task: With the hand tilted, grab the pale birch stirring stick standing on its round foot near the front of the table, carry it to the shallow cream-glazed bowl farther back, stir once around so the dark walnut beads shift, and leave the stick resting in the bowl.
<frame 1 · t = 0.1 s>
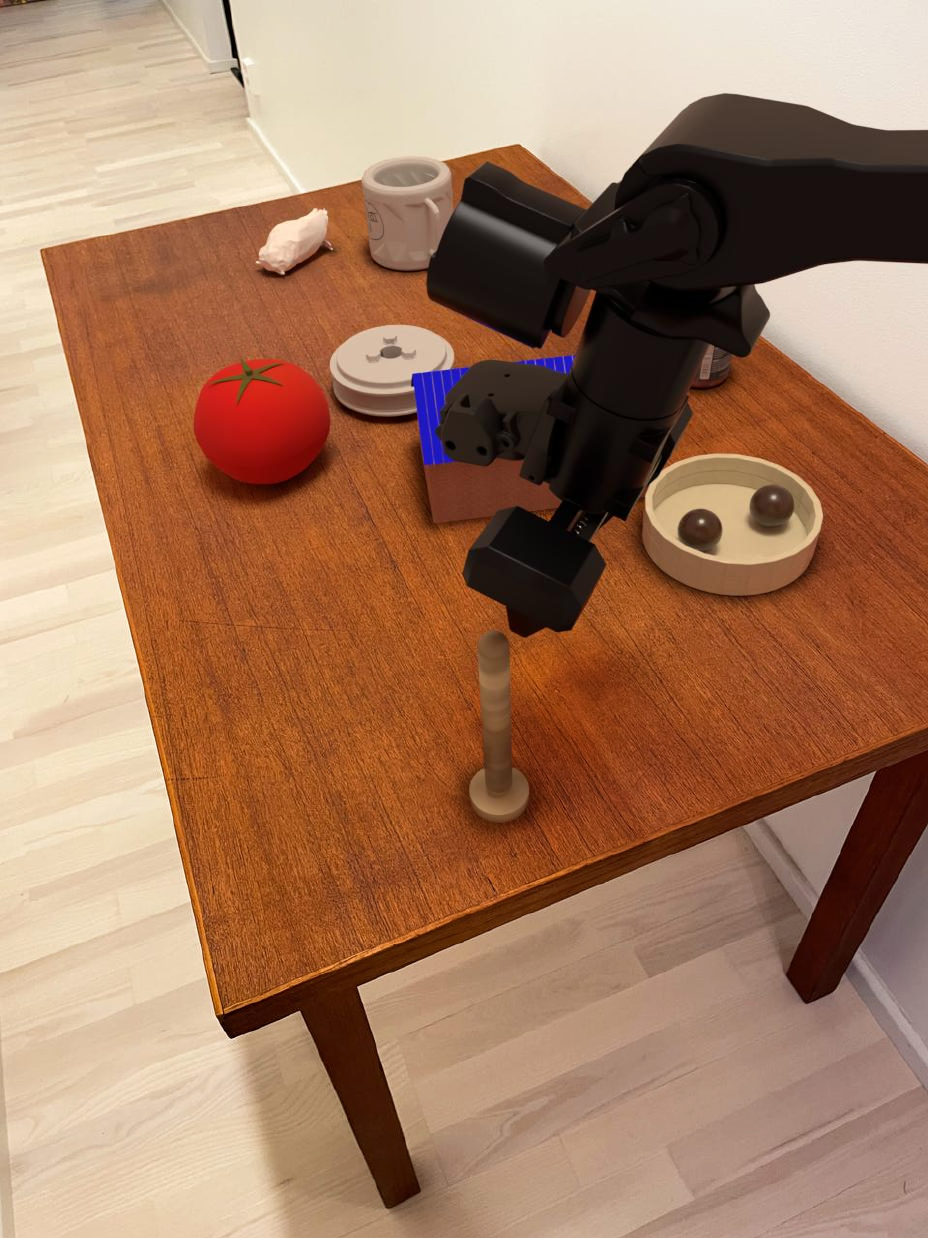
hand: (549, 582, 59), 14 cm above the table, tool pointing down, fingers open, 9 cm apart
tomato: (274, 467, 92), on the table
bead b: (771, 506, 80), point 2 cm above the table, touching bowl
bead a: (699, 530, 78), point 2 cm above the table, touching bowl
bowl: (726, 537, 81), on the table
mug: (418, 258, 121), on the table
house: (530, 473, 89), on the table
supplement bottle: (698, 376, 99), on the table
pale pink lumpy figure: (297, 263, 121), on the table
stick: (499, 797, 64), on the table
lid: (395, 390, 100), on the table
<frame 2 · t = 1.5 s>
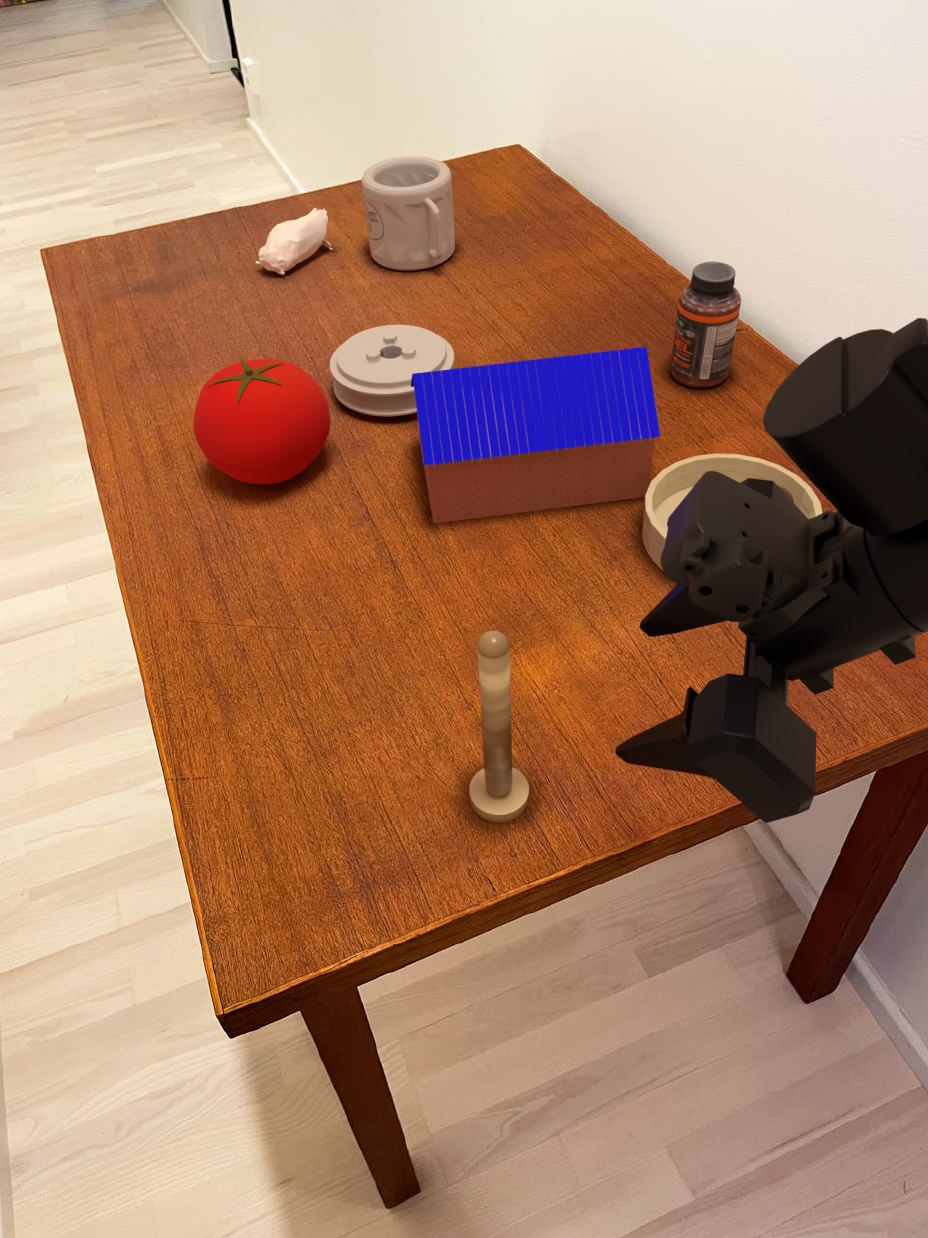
hand: (633, 689, 53), 13 cm above the table, tool tilted 45°, fingers open, 9 cm apart
nothing on the table moved.
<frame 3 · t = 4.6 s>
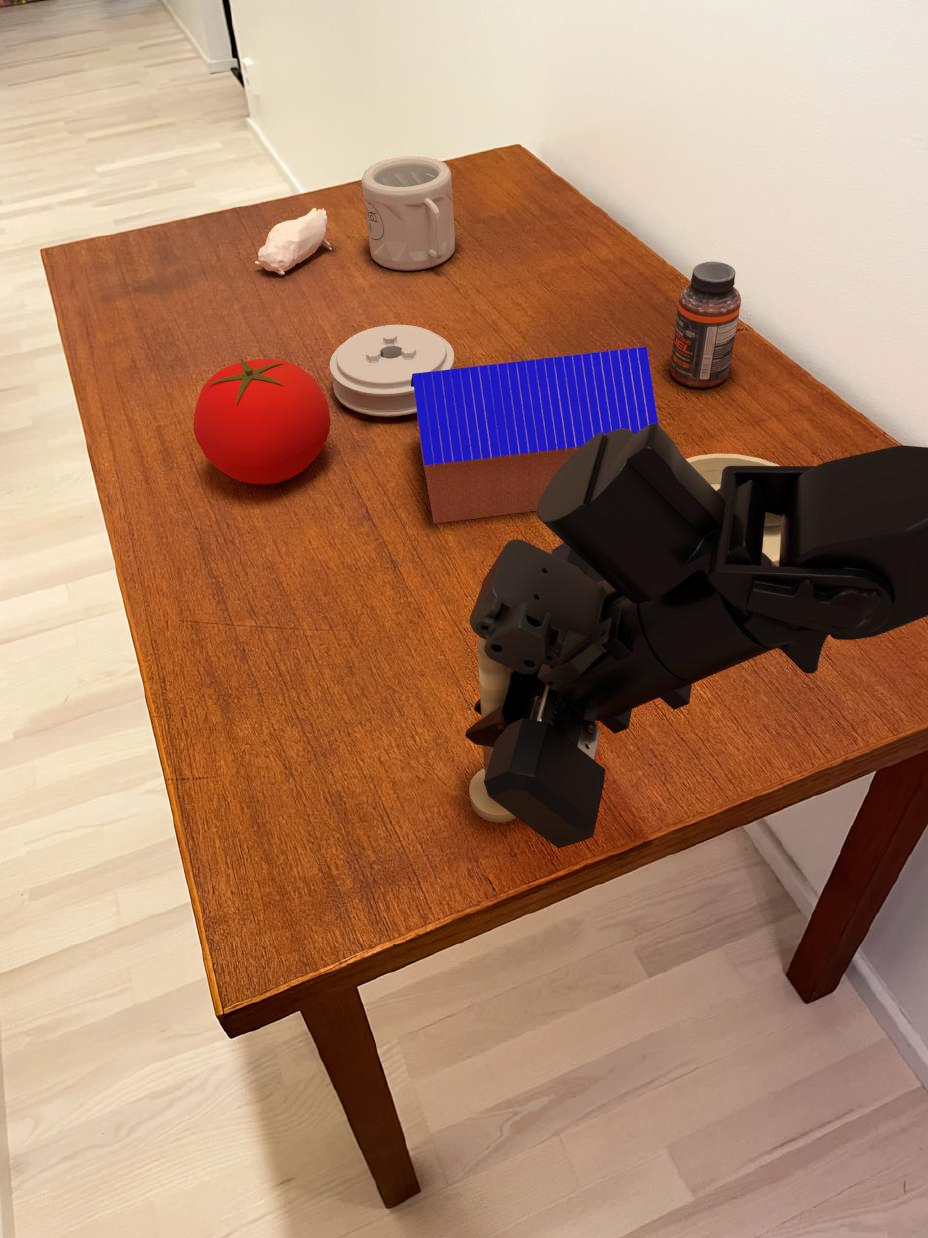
hand: (474, 724, 59), 8 cm above the table, tool tilted 45°, fingers closed on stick, 2 cm apart
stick: (499, 797, 64), on the table, touching gripper
everything else where it was.
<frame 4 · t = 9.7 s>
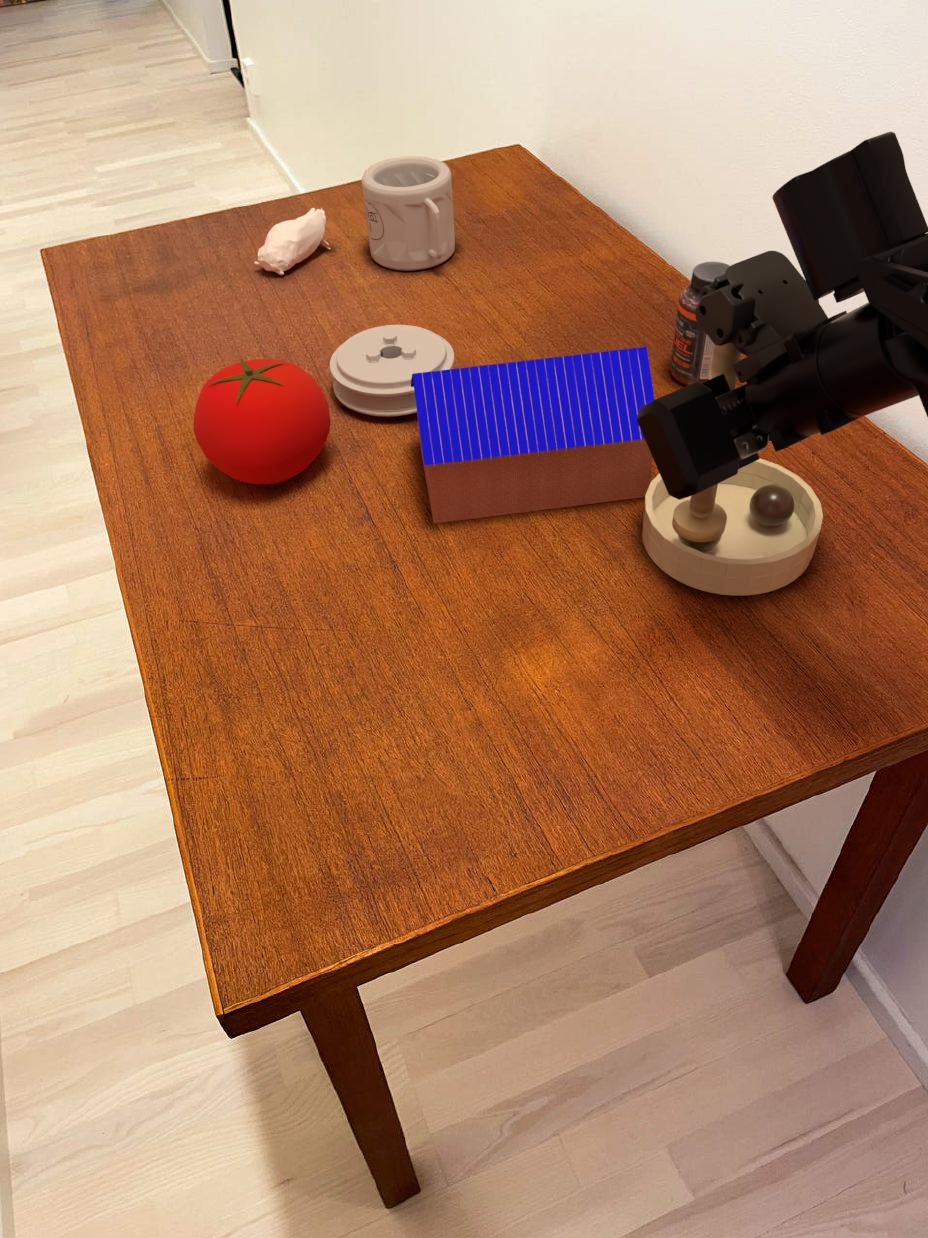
hand: (699, 434, 69), 14 cm above the table, tool tilted 45°, fingers closed on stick
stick: (698, 525, 74), point 6 cm above the table, touching gripper
everything else where it was.
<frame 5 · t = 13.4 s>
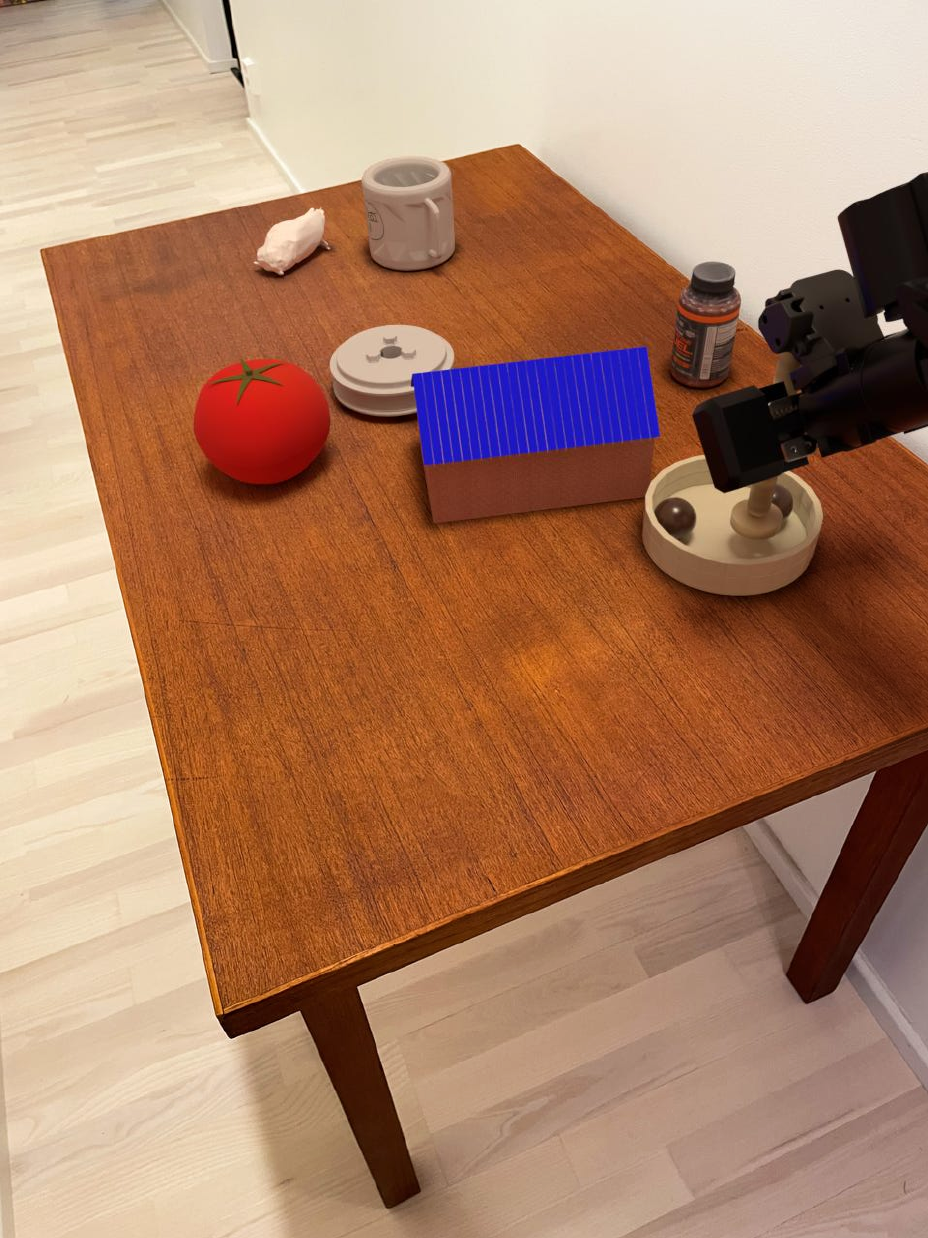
hand: (761, 437, 73), 11 cm above the table, tool tilted 45°, fingers closed on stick, 2 cm apart
bead b: (770, 504, 80), point 2 cm above the table, tilted 8°, touching bowl
bead a: (674, 519, 80), point 2 cm above the table, tilted 77°, touching bowl
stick: (755, 523, 78), point 3 cm above the table, touching gripper
everything else where it was.
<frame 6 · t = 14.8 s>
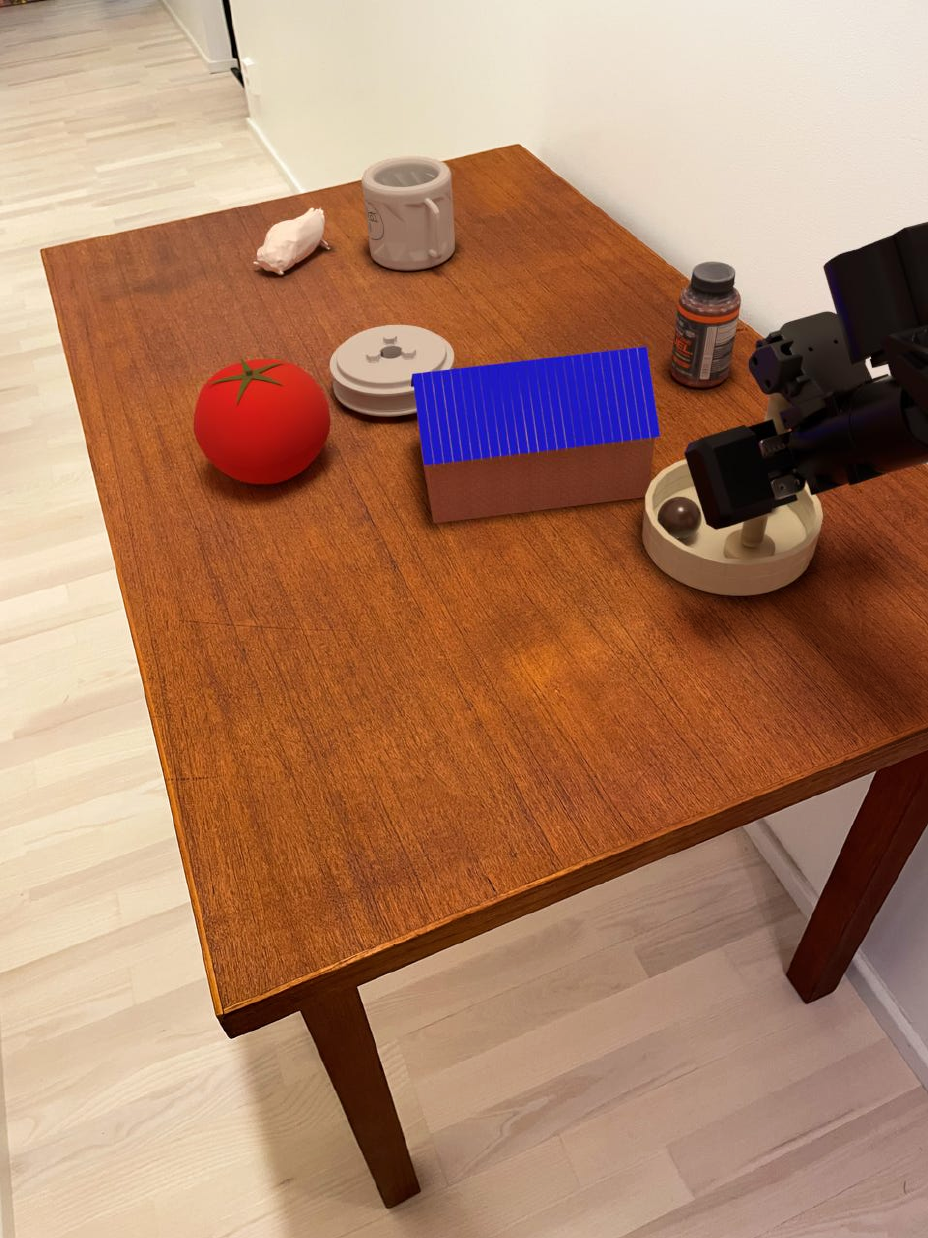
hand: (753, 470, 74), 8 cm above the table, tool tilted 45°, fingers closed
bead b: (760, 488, 82), point 2 cm above the table, tilted 76°, touching bowl
bead a: (679, 518, 80), point 2 cm above the table, tilted 68°, touching bowl
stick: (748, 553, 79), point 1 cm above the table, touching bowl
everything else where it was.
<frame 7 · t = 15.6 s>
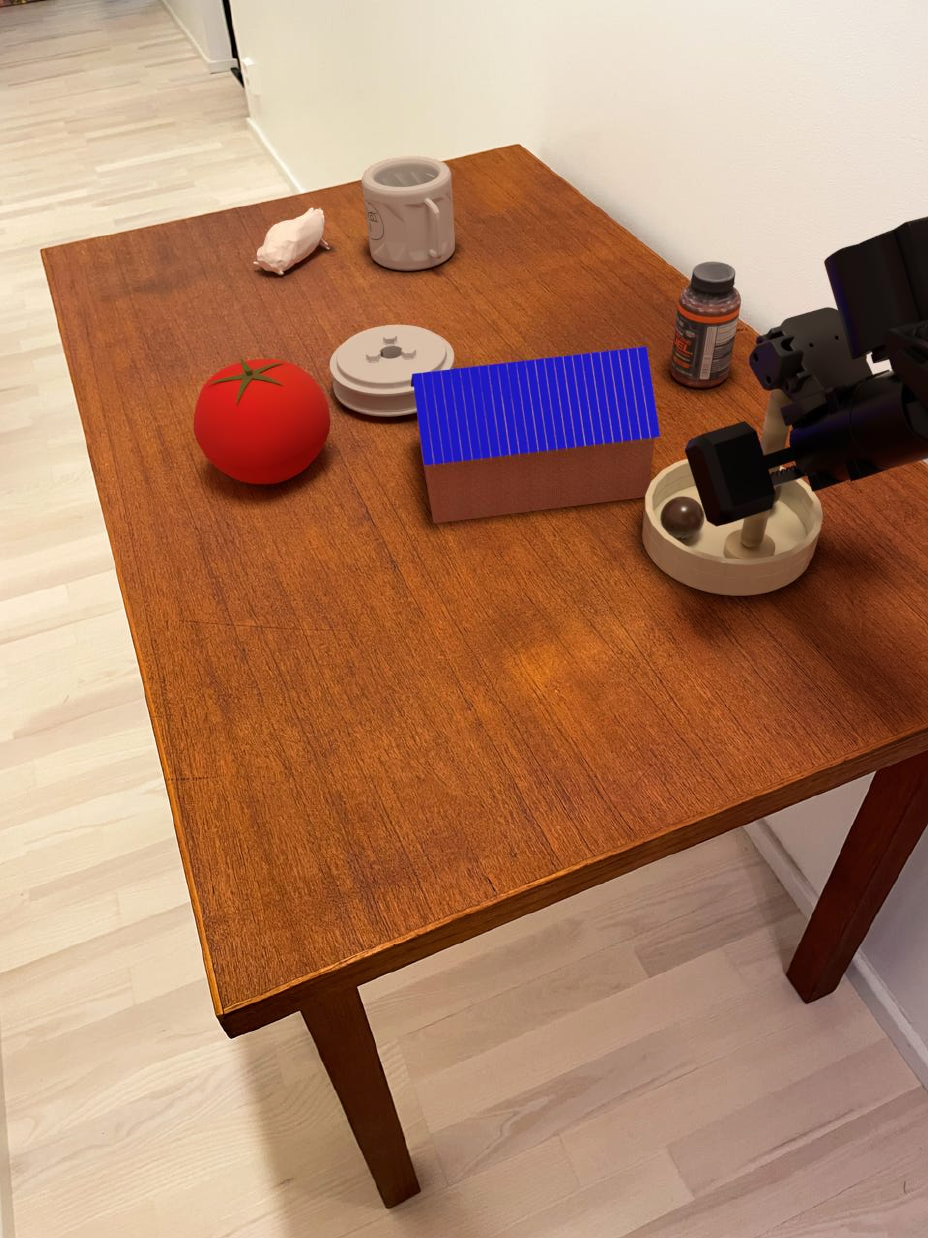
hand: (753, 467, 74), 8 cm above the table, tool tilted 45°, fingers open, 9 cm apart
bead b: (759, 490, 82), point 2 cm above the table, tilted 71°, touching bowl
everything else where it was.
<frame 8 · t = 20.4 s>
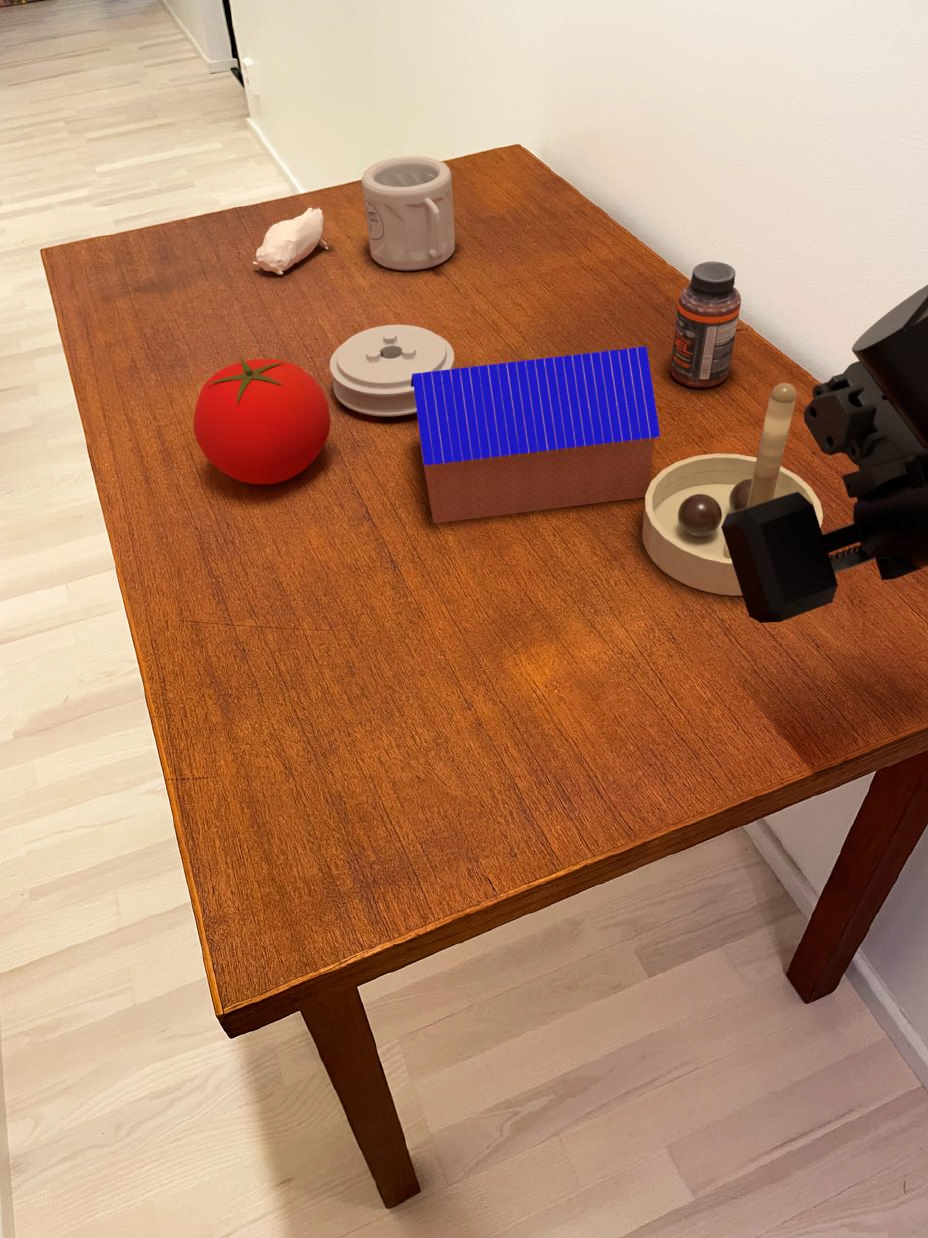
hand: (799, 536, 61), 14 cm above the table, tool tilted 45°, fingers open, 9 cm apart
bead b: (751, 500, 81), point 2 cm above the table, tilted 45°, touching bowl
bead a: (699, 515, 80), point 2 cm above the table, tilted 47°, touching bowl
everything else where it was.
at the end: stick inside the target area in the bowl (3.0 cm from its centre), point 0.6 cm above the bowl's base; bead a moved 1.9 cm from its start; bead a inside the target area in the bowl (2.5 cm from its centre), point 2.4 cm above the bowl's base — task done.
